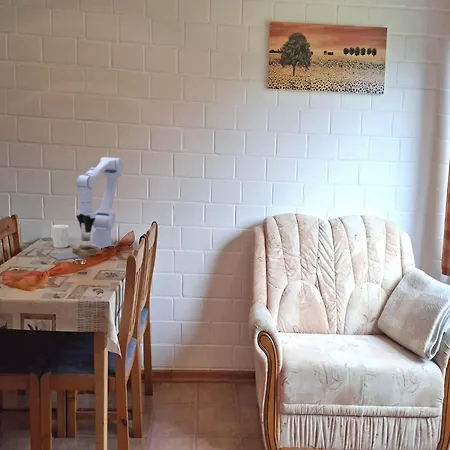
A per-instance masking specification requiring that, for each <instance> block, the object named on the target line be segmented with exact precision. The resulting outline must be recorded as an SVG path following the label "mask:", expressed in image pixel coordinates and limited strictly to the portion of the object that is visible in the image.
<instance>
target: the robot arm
mask: <svg viewBox="0 0 450 450" xmlns="http://www.w3.org/2000/svg"><path fill="white" fill-rule="evenodd" d="M123 168H124V164H123V159H122V158H121V157H107V156H102V157H101V158H100V159H99V163H98V164H97V166H96V167H93V166H92V167H90V168H89V170H87V171H86V172H85V173H84V174H83V175H78V177H77V178H76V186H77V192H78V196H79V197H78V199H79V200H78V201H79V202H78V207H79V209H76V214H77V215H76V219H77V221H78V224H79V227H80V229H81V223H82V222H84V224H85V231H86V233H88V232H90V233H91V232H92V243H91V244H90V245H94V246H96V247H98V248H102V249H105V248H104V247H107V246H114V245H113V244H112V229H113V227H115V225H116V214H115V212H114V211H113V210H112V208H113V203H114V199H115V194H116V191H117V187H118V182H119V177H121V176H122V174H123V173H122V172H123ZM102 174H103V175H104V176H105V177H107V179H106V183H105V187H104V191H103V196H102V200H101V205H100V208H98V209H96V210H95V211H93V189H94V187H95V185H96V182H97V181H98V180H99V179H100V178H101V176H102ZM92 228H94V229H92ZM92 230H93V231H92Z"/></svg>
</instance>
